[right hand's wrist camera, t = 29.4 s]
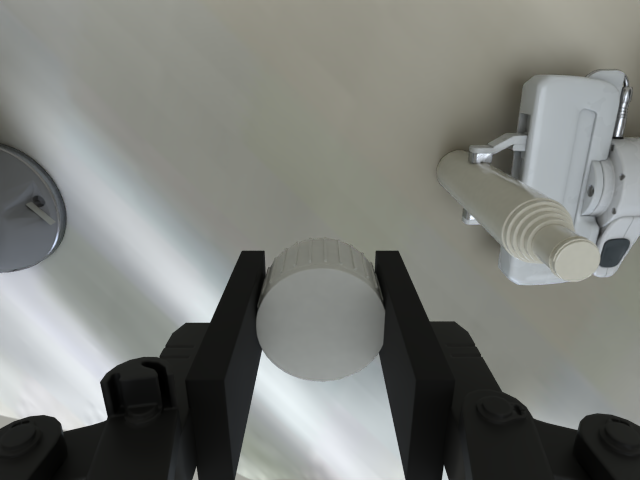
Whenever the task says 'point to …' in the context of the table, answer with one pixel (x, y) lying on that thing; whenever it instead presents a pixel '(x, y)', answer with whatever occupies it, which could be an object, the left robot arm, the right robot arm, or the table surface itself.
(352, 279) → the cap
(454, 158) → the bottle
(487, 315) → the table surface
